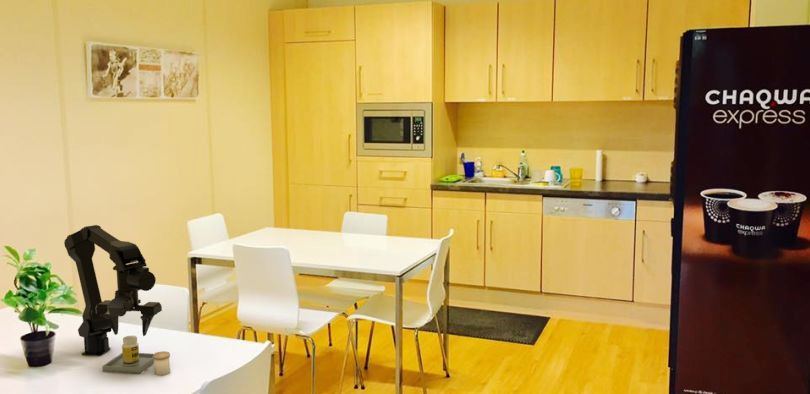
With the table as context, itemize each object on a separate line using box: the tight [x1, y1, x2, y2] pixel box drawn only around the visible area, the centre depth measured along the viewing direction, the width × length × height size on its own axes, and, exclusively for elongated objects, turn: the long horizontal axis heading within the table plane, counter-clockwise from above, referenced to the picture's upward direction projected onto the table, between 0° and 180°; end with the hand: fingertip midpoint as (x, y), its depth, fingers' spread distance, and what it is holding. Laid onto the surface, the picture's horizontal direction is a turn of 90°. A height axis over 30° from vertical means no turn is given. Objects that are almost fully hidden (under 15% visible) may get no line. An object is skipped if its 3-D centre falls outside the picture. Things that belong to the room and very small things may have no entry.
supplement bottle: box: [121, 335, 140, 366], centre depth 217 cm, size 5×5×8 cm
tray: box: [102, 352, 154, 375], centre depth 218 cm, size 12×12×2 cm
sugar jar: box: [152, 350, 171, 376], centre depth 212 cm, size 5×5×6 cm
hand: (130, 335), depth 216 cm, fingers open, 9 cm apart
